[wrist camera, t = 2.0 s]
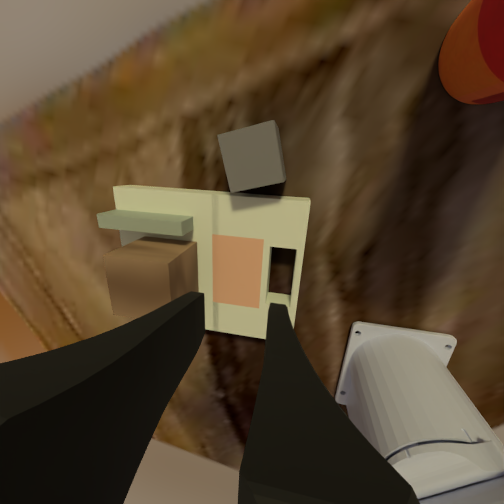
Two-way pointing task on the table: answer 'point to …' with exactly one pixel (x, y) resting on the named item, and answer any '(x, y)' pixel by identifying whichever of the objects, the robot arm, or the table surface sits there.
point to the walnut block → (150, 274)
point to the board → (221, 245)
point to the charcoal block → (252, 156)
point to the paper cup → (475, 54)
